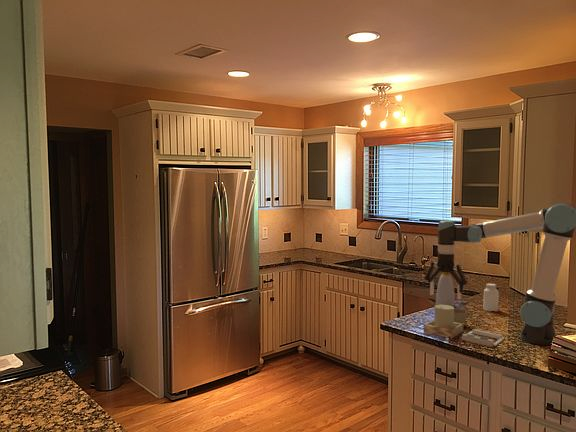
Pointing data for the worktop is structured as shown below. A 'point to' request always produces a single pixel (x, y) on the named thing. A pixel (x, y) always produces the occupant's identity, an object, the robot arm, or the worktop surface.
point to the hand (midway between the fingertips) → (445, 296)
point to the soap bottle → (445, 290)
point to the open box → (443, 329)
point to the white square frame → (482, 338)
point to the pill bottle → (490, 298)
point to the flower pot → (460, 315)
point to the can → (444, 316)
